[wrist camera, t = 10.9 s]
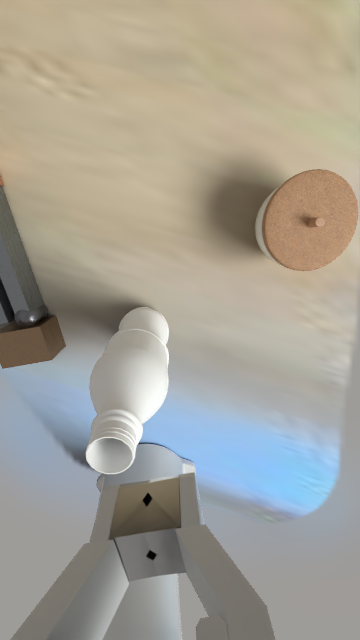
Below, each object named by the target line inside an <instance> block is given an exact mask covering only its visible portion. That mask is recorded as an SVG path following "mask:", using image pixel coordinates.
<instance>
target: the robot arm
mask: <svg viewBox="0 0 360 640" xmlns="http://www.w3.org/2000/svg"><path fill="white" fill-rule="evenodd" d="M195 472H196V466H195V464H194V463H193V462H191V461H189V460H186V459H182V458H180V457H179V456H177V455H176V454H175V453H174V452H172V451H171V450H169V449H167V448H165V447H162V446H159V445H155V444H138V445H137V447H136V452H135V458H134V461H133V463H132V464H131V466H130V467H129V468H128V469H126V470H125V471H123V472H121V473H118V474H104V473H103V474H102V475H100V477H99V478H98V479H97V488H98V489H99V490H100V492H101V494H100V499H99V504H98V509H97V515H96V520H95V523H94V527H93V531H92V535H91V538H90V542H89V543H87V544H84V545H83V546H82V548H81V549H80V550H79V552H78V553H77V554H76V556H75V557H74V558H73V559H72V561H71V562H70V563H69V565H68V566H67V567H66V568H65V570H64V571H63V572H62V574H61V575H60V576H59V577H58V579H57V580H56V581H55V583H54V584H53V585H52V587H51V588H50V589H49V590H48V592H47V593H46V594H45V596H44V597H43V598H42V599H41V601H40V602H39V604H38V605H37V606H36V607H35V609H34V610H33V611H32V612H31V614H30V615H29V616H28V618H27V619H26V620H25V622H24V623H23V624H22V625H21V627H20V628H19V629H18V631H17V632H16V633H15V634H14V636H13V637H12V639H11V640H183V639H182V629H181V618H180V604H179V586H178V573H185V572H186V573H187V575H188V578H189V579H190V581H191V583H192V585H193V587H194V589H195V591H196V593H197V595H198V597H199V598H200V600H201V602H202V604H203V606H204V608H205V610H206V612H207V614H208V616H209V617H205V618H201V619H200V620H199V622H198V624H197V626H196V639H197V640H275V636H274V632H273V629H272V625H271V621H270V618H269V614H268V610H267V606H266V605H265V603H264V602H263V601H262V599H261V598H260V597H259V596H258V594H257V593H256V592H255V590H254V589H253V588H252V586H251V585H250V583H249V582H248V581H247V579H246V578H245V577H244V575H243V574H242V573H241V571H240V570H239V569H238V567H237V566H236V565H235V563H234V562H233V561H232V559H231V558H230V557H229V556H228V554H227V553H226V551H225V550H224V549H223V548H222V546H221V545H220V543H219V542H218V541H217V539H216V538H215V537H214V535H213V534H212V533H211V531H210V530H209V529H208V527H207V526H206V525H205V524H204V522H203V514H202V508H201V502H200V496H199V491H198V486H197V481H196V475H195Z"/></svg>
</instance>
